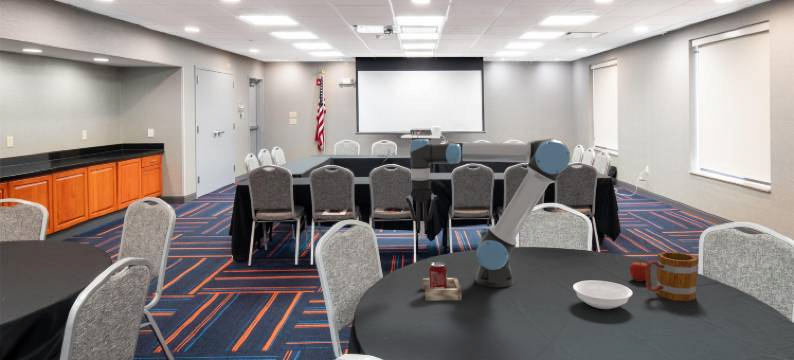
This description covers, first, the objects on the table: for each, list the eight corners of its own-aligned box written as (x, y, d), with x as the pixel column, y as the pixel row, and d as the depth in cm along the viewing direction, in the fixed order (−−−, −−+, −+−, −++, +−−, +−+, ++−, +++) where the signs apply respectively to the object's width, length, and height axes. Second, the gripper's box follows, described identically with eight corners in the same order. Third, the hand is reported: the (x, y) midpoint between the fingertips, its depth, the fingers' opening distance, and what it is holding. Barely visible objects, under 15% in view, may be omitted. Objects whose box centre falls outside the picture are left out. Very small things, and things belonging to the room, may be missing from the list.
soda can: (446, 297, 193) (446, 266, 192) (428, 296, 194) (428, 266, 193) (447, 291, 200) (447, 261, 198) (430, 290, 201) (430, 261, 199)
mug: (678, 287, 201) (680, 250, 199) (704, 299, 188) (707, 260, 186) (633, 291, 197) (635, 253, 196) (657, 303, 184) (659, 263, 182)
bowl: (634, 320, 170) (635, 301, 169) (571, 312, 177) (572, 295, 176) (629, 299, 189) (630, 283, 188) (572, 293, 196) (573, 277, 195)
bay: (456, 287, 204) (456, 277, 204) (461, 299, 190) (461, 289, 190) (423, 288, 204) (422, 278, 204) (425, 300, 190) (425, 290, 190)
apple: (651, 284, 206) (652, 265, 205) (630, 282, 208) (631, 263, 207) (648, 278, 213) (649, 260, 212) (628, 276, 215) (629, 258, 214)
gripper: (435, 177, 203) (437, 235, 206) (403, 178, 202) (405, 236, 205) (438, 179, 196) (440, 239, 199) (405, 180, 195) (407, 241, 198)
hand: (422, 238), depth 202 cm, fingers closed
